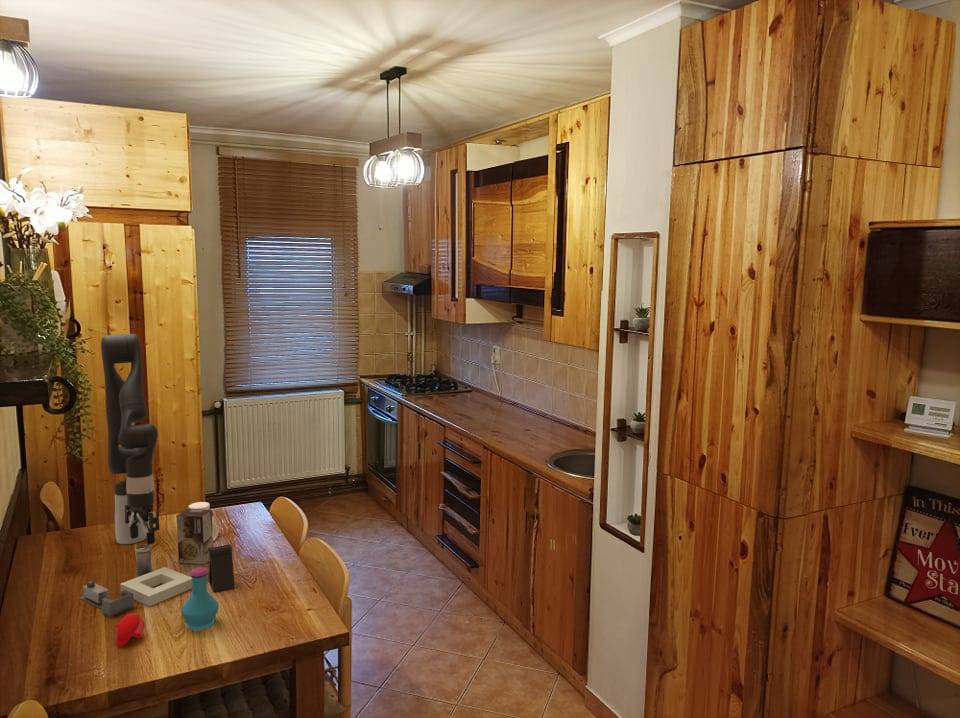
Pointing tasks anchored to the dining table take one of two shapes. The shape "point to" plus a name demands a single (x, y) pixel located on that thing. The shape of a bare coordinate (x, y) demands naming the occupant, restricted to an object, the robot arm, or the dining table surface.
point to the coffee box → (194, 535)
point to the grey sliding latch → (114, 604)
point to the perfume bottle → (200, 603)
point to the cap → (129, 629)
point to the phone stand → (221, 568)
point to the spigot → (143, 559)
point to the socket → (150, 596)
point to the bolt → (95, 592)
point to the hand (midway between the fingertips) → (142, 540)
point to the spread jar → (206, 507)
